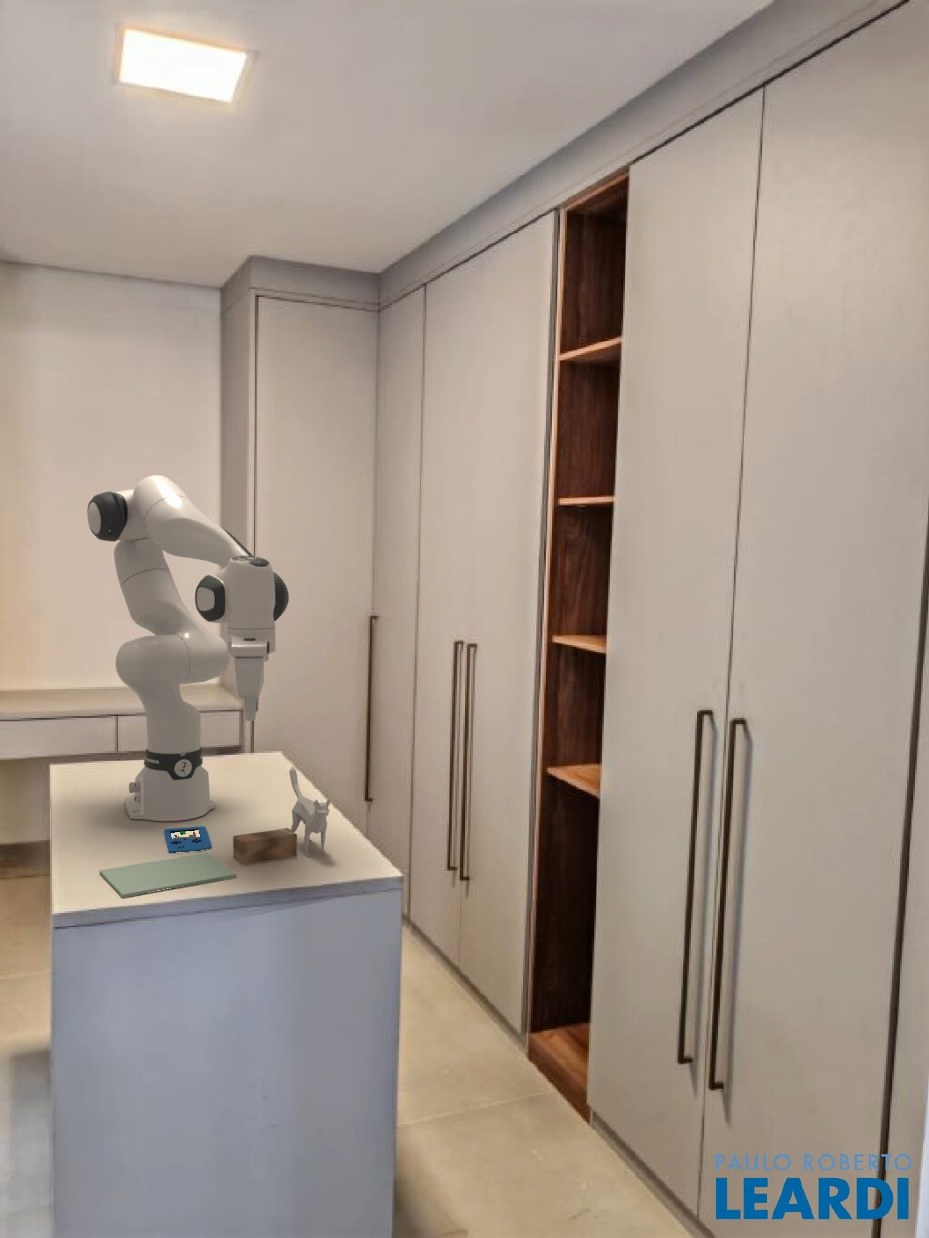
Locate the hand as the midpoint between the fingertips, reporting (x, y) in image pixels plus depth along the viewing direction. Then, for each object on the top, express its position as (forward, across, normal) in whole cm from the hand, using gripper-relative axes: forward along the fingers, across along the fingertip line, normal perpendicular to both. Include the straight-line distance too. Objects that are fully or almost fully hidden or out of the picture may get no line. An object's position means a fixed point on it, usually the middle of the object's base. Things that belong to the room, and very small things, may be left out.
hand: (252, 716), depth 190 cm
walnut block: (+27, 0, +2) cm, 27 cm away
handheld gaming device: (+27, -11, -13) cm, 32 cm away
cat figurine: (+27, -6, +10) cm, 30 cm away
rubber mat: (+27, +9, -14) cm, 32 cm away
